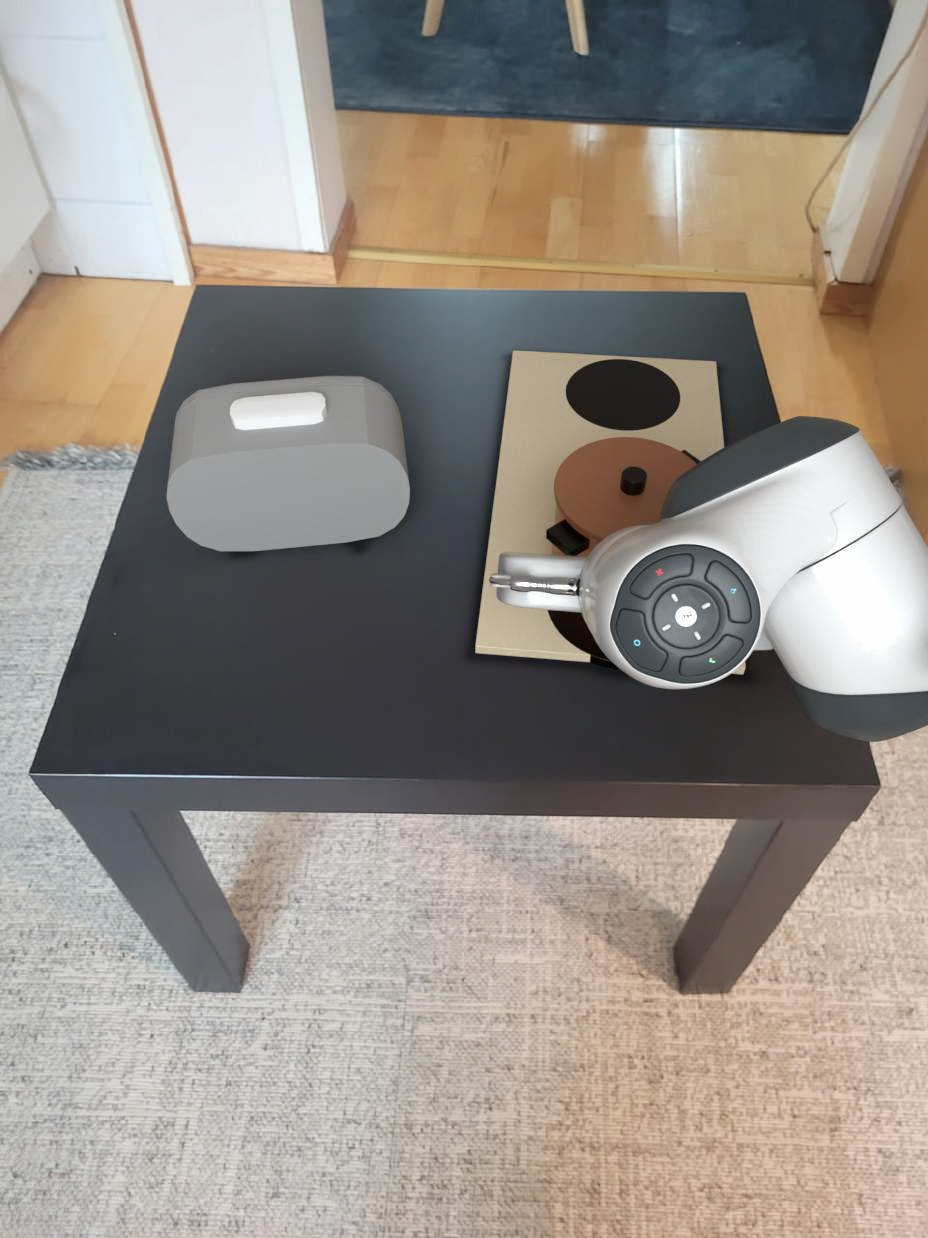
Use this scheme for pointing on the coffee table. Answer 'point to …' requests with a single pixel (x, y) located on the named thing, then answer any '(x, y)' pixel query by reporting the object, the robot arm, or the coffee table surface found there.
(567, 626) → the black round disc
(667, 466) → the pot
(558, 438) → the hob
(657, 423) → the burner
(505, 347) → the coffee table surface
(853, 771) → the coffee table surface
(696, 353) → the coffee table surface
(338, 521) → the alarm clock
